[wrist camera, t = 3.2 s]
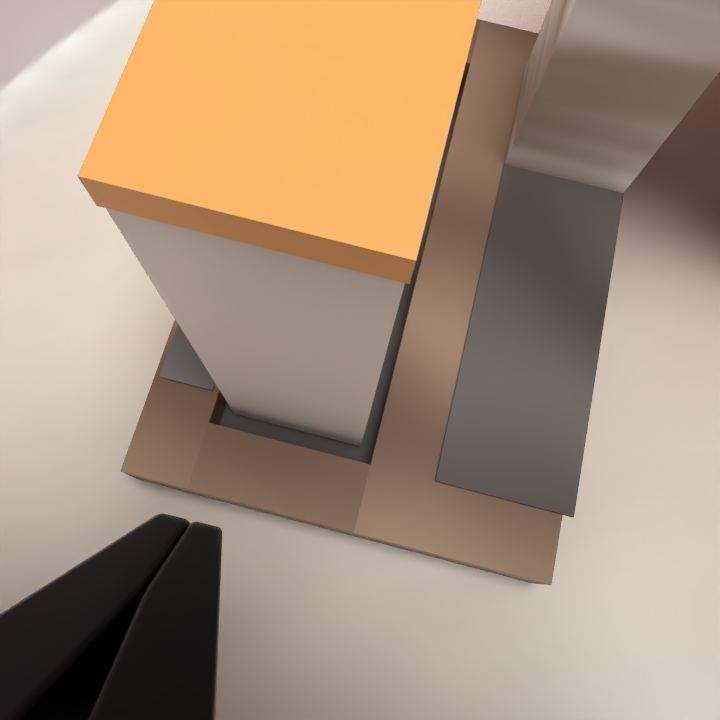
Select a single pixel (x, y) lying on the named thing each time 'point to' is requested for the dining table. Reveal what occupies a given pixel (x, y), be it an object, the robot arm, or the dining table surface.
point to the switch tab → (283, 185)
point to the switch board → (475, 307)
